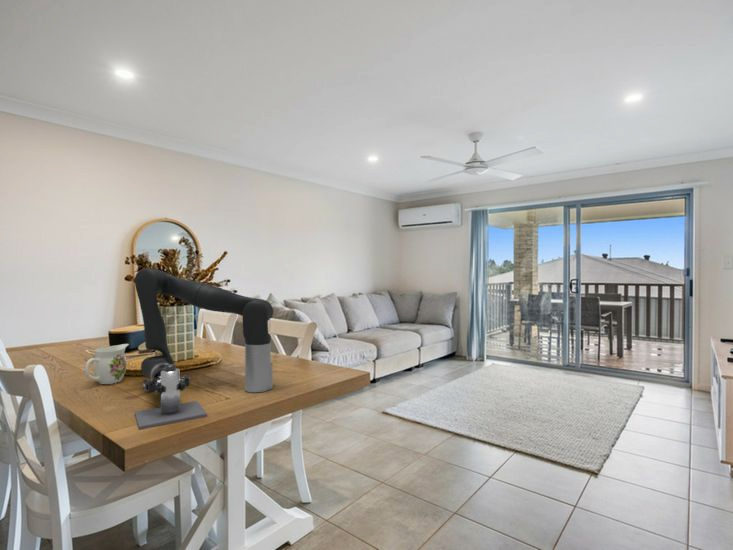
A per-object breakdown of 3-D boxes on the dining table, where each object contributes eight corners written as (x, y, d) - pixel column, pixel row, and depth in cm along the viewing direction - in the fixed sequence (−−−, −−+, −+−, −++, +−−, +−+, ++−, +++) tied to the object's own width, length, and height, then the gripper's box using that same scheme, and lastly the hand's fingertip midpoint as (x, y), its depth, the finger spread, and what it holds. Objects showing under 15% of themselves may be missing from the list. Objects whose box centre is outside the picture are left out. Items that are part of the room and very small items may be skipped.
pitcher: (74, 388, 149) (74, 351, 148) (118, 375, 166) (118, 343, 166) (96, 391, 145) (96, 353, 145) (138, 378, 162) (138, 344, 162)
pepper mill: (178, 405, 125) (178, 362, 125) (181, 410, 121) (181, 366, 121) (159, 408, 123) (159, 364, 122) (162, 413, 118) (161, 368, 118)
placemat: (197, 403, 133) (197, 400, 133) (206, 416, 121) (206, 413, 121) (134, 414, 123) (134, 411, 123) (138, 429, 111) (138, 426, 111)
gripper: (139, 367, 129) (144, 380, 115) (187, 361, 137) (197, 373, 123) (139, 390, 130) (144, 406, 116) (187, 383, 138) (197, 397, 124)
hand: (171, 388), depth 120 cm, fingers closed on pepper mill, 5 cm apart
